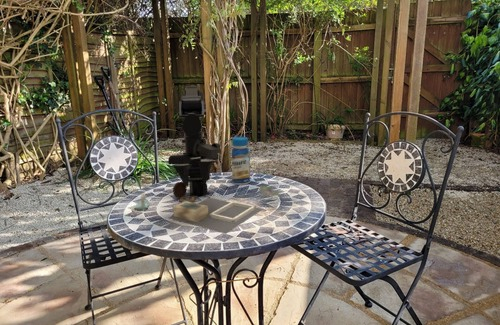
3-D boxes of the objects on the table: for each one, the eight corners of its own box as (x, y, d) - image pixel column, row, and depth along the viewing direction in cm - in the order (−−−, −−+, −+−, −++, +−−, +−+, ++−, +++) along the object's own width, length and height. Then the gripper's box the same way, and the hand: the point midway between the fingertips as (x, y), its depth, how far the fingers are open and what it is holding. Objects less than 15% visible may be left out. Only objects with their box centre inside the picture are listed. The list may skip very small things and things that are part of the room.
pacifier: (130, 214, 120) (147, 212, 120) (127, 197, 118) (145, 196, 119) (134, 206, 127) (151, 205, 127) (132, 190, 125) (148, 189, 126)
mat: (167, 219, 114) (167, 214, 114) (209, 199, 132) (208, 194, 132) (226, 235, 102) (225, 229, 101) (263, 210, 120) (262, 205, 119)
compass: (187, 206, 126) (185, 187, 124) (172, 201, 130) (171, 183, 129) (202, 199, 132) (201, 181, 130) (188, 196, 136) (187, 178, 135)
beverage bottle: (253, 180, 154) (252, 136, 149) (245, 186, 147) (244, 140, 142) (236, 178, 158) (235, 135, 153) (228, 184, 150) (226, 139, 145)
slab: (173, 216, 115) (173, 206, 114) (186, 210, 120) (185, 200, 119) (196, 222, 110) (196, 211, 109) (208, 215, 115) (207, 205, 114)
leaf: (283, 209, 125) (283, 206, 124) (262, 208, 124) (262, 206, 124) (277, 188, 144) (277, 186, 143) (259, 188, 143) (259, 185, 143)
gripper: (193, 136, 98) (196, 189, 100) (230, 134, 114) (232, 180, 116) (165, 137, 104) (168, 188, 105) (204, 135, 120) (206, 179, 121)
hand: (196, 184), depth 112 cm, fingers open, 9 cm apart
